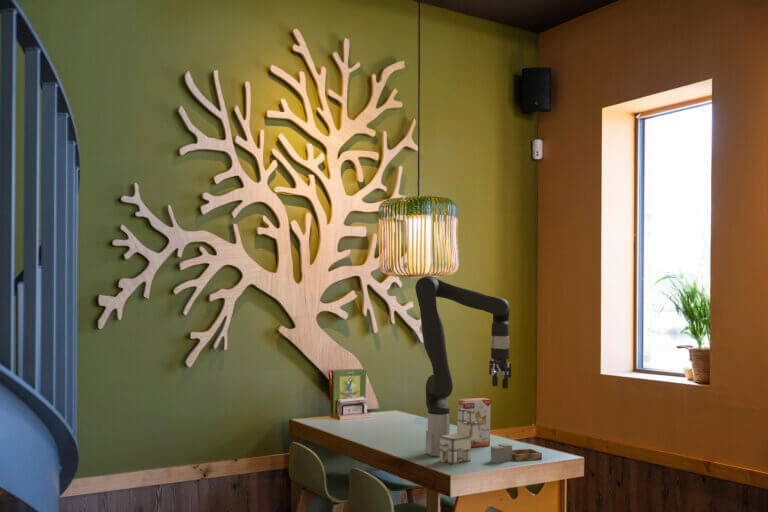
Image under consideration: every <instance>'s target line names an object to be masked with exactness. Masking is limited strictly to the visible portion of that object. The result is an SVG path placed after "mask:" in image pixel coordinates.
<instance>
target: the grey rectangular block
mask: <svg viewBox="0 0 768 512" xmlns="http://www.w3.org/2000/svg"><path fill="white" fill-rule="evenodd" d="M491 461H492V463H493V464H504V463H505V461H504V447H501V446H498V445H490V462H491Z"/></svg>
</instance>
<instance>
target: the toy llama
mask: <svg viewBox="0 0 768 512" xmlns="http://www.w3.org/2000/svg"><path fill="white" fill-rule="evenodd" d="M457 419H458V434H457V433H454V434H449V435H444V436H440V448H439V450H440V456H439V462H442V463H447V464H448V463H449V465H451V466H452V465H453V464H454V465H457V464H458V461H459V460H461V461H462V462H463V461H464V463H470V462H471V459H472V458H471V455H472V454H471V452H472V451H471V450H472V449H471V448H472V447H471V443H472V442H478V441H480V423H478V422H475V411H473V410H469V411H467V409H458V408H457Z"/></svg>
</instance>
